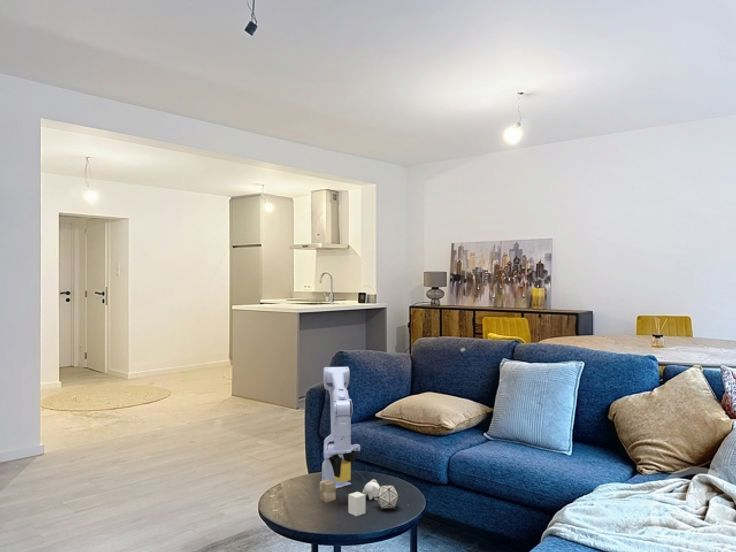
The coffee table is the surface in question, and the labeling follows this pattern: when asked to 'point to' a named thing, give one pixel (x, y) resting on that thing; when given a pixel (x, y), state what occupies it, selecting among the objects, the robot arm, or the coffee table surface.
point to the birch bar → (327, 490)
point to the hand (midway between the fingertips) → (342, 475)
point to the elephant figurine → (371, 489)
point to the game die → (387, 496)
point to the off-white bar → (356, 503)
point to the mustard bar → (344, 472)
